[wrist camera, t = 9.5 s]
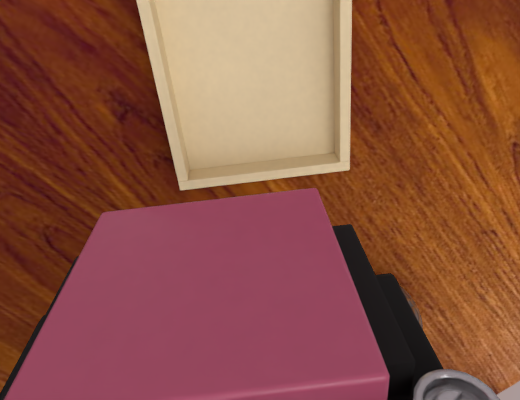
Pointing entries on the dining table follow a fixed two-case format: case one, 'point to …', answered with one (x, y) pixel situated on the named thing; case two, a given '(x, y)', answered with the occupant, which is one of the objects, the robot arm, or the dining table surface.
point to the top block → (208, 309)
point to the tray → (252, 86)
